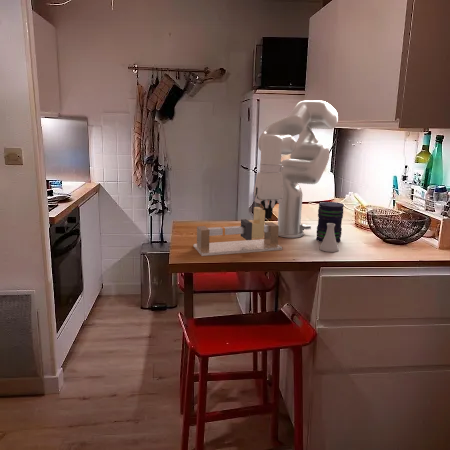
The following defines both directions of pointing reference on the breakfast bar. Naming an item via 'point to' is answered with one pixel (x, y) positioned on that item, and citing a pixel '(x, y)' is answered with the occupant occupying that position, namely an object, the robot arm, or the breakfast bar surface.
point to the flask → (329, 240)
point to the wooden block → (258, 223)
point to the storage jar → (329, 219)
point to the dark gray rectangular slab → (247, 229)
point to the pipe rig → (236, 246)
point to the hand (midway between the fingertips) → (267, 217)
